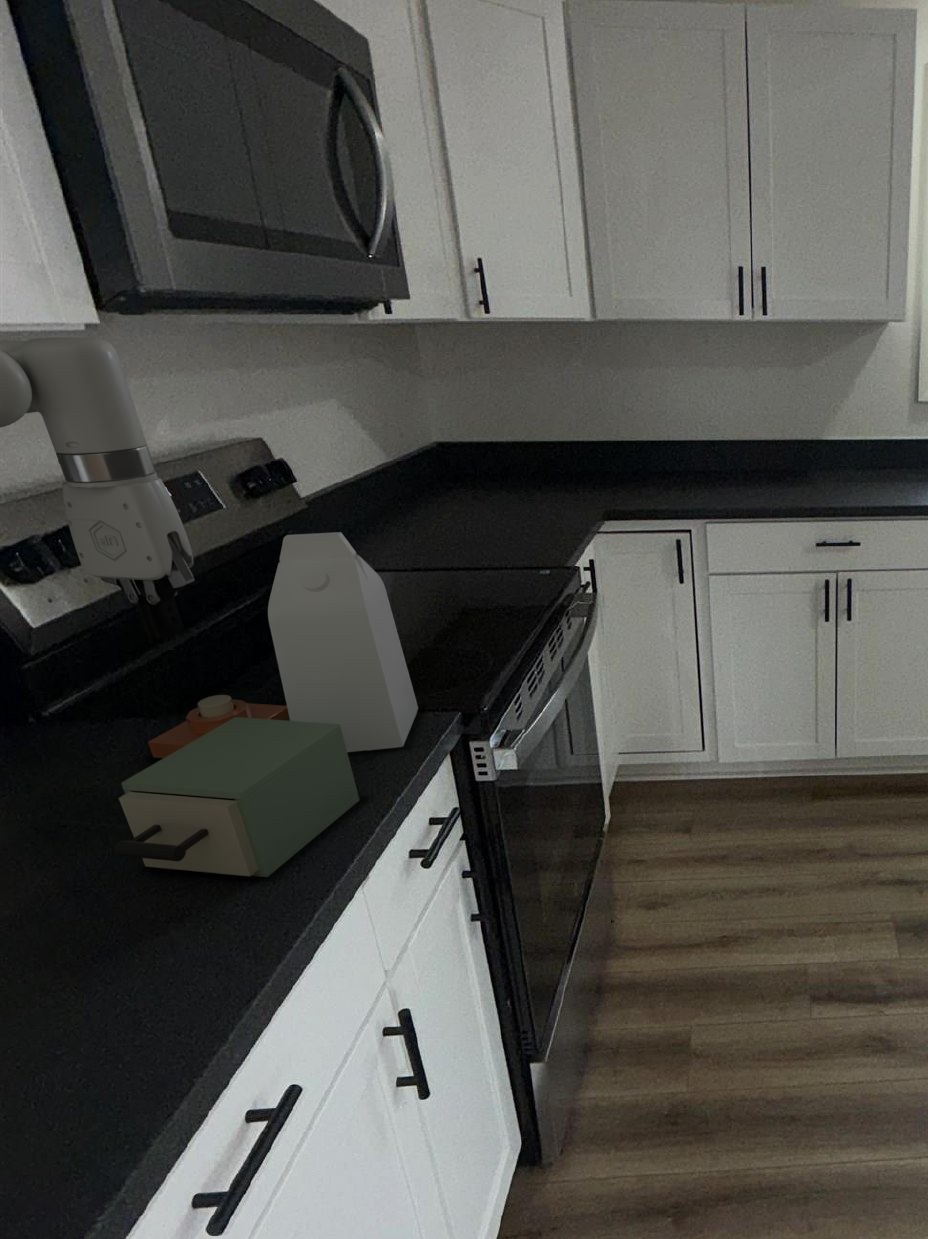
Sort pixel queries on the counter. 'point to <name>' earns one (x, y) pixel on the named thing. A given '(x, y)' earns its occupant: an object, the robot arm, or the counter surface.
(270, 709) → the control block
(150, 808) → the beige drawer
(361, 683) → the milk
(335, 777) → the green drawer cabinet
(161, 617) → the robot arm
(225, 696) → the button
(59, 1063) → the counter surface
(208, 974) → the counter surface
